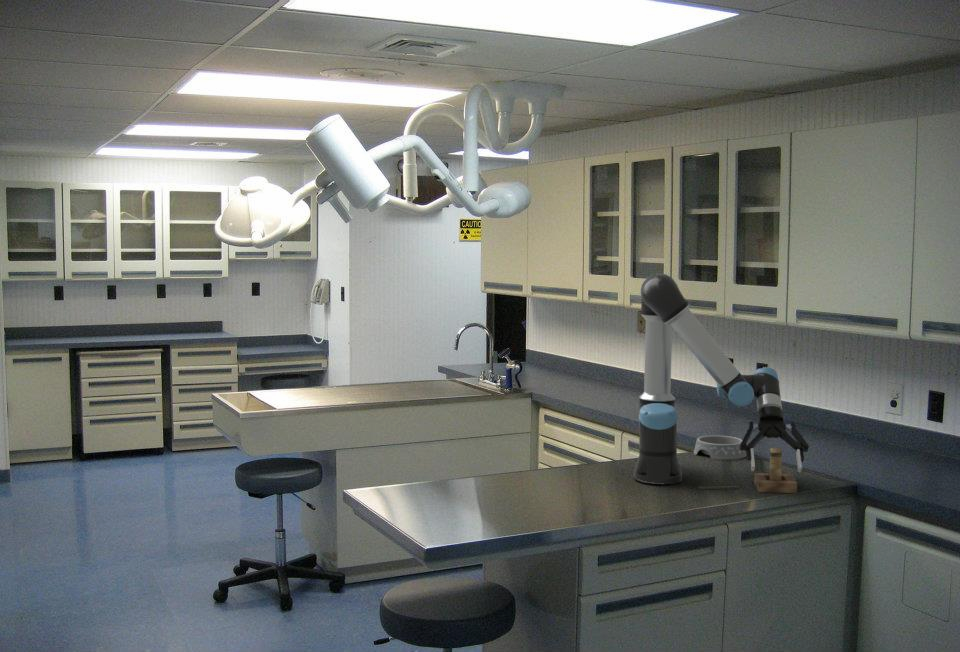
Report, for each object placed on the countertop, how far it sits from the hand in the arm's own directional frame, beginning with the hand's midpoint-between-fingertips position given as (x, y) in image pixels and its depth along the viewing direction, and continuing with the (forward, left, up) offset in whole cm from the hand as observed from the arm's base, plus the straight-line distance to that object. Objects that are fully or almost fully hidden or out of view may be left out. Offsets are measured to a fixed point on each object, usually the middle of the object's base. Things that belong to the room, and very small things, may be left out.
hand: (776, 469), depth 275 cm
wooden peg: (0, +2, -6) cm, 7 cm away
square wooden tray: (0, +2, -6) cm, 7 cm away
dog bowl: (-12, +47, -7) cm, 49 cm away
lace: (-17, -1, -6) cm, 18 cm away
